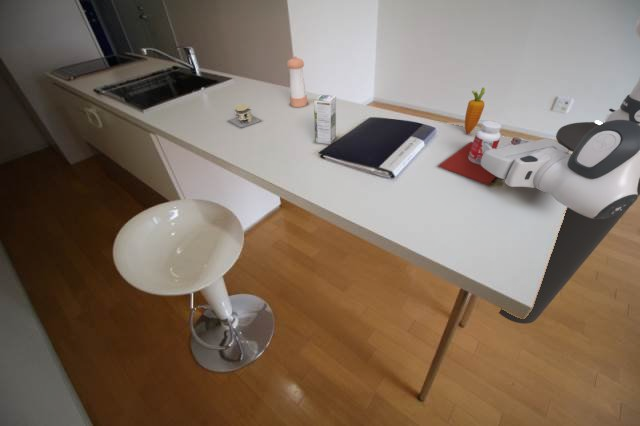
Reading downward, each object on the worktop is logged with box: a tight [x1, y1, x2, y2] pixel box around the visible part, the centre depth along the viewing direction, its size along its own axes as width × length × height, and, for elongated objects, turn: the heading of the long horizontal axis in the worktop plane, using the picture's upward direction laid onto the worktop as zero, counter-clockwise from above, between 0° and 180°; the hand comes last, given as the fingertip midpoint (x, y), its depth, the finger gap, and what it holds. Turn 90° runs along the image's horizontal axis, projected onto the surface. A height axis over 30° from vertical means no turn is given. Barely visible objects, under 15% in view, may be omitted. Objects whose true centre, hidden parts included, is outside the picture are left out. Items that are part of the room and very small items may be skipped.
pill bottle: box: [468, 120, 503, 165], centre depth 80 cm, size 6×6×11 cm
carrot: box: [464, 87, 486, 135], centre depth 94 cm, size 5×5×15 cm
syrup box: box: [313, 94, 337, 145], centre depth 95 cm, size 6×6×14 cm
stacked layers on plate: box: [229, 103, 261, 129], centre depth 114 cm, size 10×9×6 cm
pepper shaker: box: [286, 55, 308, 108], centre depth 123 cm, size 7×7×19 cm
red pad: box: [438, 141, 497, 186], centre depth 84 cm, size 20×14×1 cm
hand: (499, 142), depth 76 cm, fingers open, 8 cm apart
